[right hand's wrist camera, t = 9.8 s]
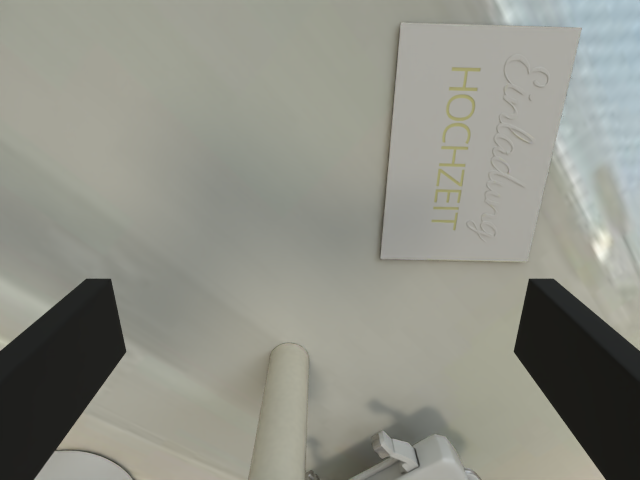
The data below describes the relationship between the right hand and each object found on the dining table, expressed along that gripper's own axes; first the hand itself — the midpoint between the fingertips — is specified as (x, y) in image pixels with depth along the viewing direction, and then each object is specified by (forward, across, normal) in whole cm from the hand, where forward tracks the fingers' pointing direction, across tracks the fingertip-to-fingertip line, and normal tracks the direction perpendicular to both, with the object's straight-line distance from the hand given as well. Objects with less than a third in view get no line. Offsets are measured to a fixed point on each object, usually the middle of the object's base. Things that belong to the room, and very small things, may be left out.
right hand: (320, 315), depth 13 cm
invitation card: (+27, -14, -1) cm, 30 cm away
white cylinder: (+27, +4, +22) cm, 35 cm away
